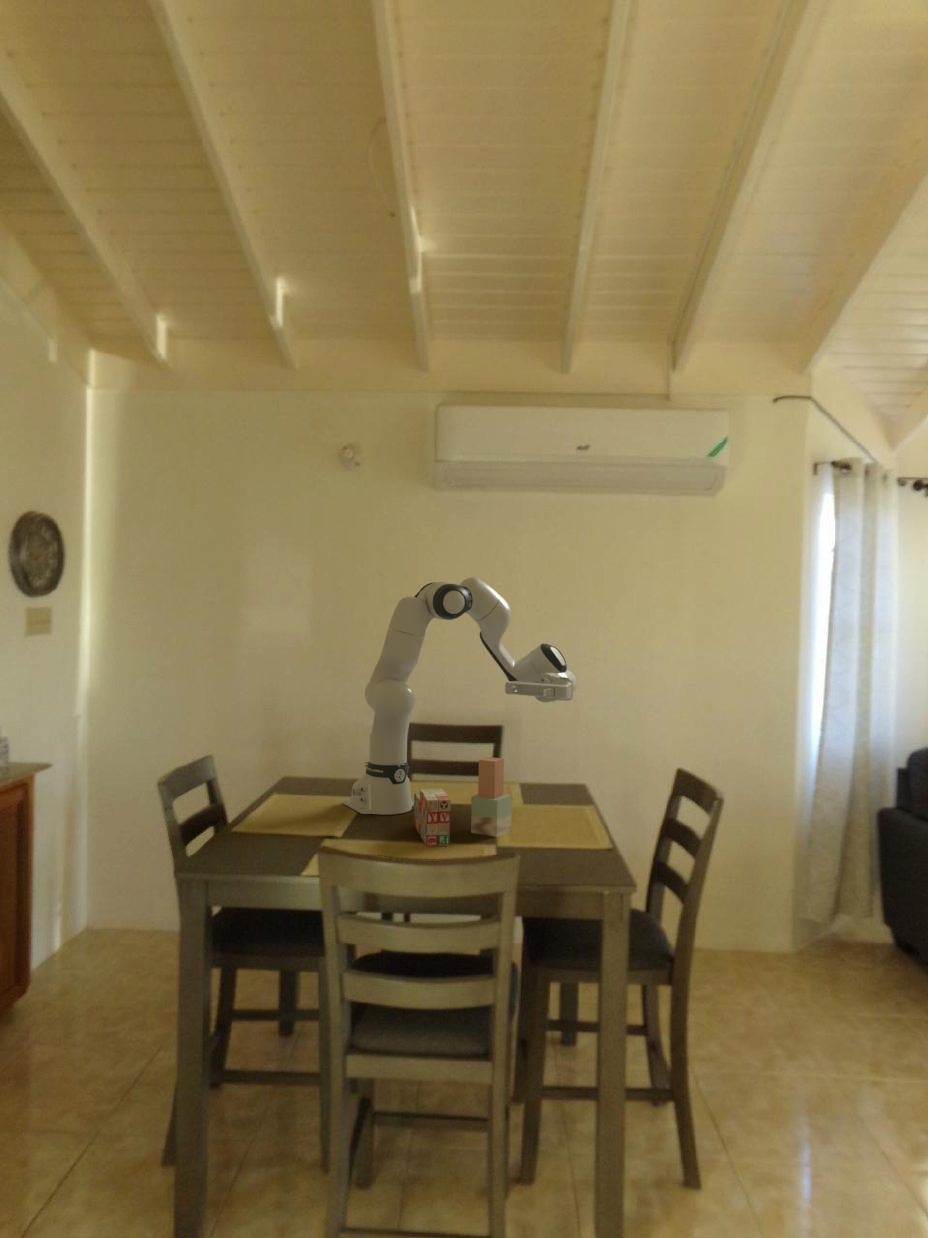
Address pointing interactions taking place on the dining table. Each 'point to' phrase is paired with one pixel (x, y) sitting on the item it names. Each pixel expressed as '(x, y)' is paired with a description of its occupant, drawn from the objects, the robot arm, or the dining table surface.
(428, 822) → the stack of blocks
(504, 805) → the tower top
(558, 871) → the dining table surface
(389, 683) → the robot arm
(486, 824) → the tower bottom
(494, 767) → the tall block
